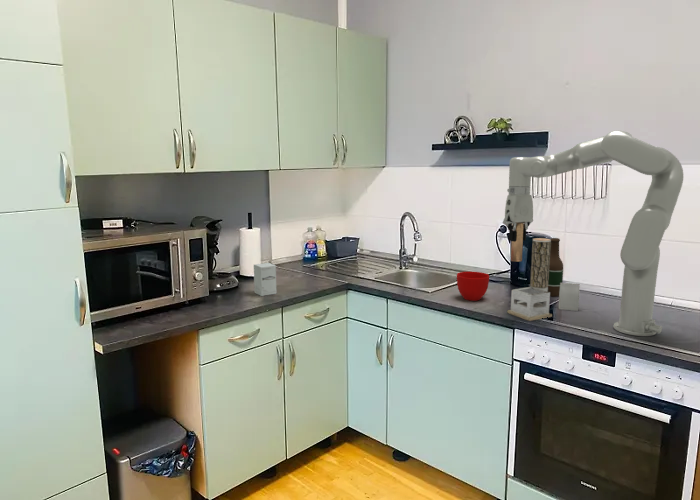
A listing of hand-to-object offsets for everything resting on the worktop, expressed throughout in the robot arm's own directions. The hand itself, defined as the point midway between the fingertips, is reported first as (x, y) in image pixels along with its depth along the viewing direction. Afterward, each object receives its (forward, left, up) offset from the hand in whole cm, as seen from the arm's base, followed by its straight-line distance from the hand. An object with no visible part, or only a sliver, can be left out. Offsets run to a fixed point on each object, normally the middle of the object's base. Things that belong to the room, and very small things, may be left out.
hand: (517, 240), depth 193 cm
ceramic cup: (+20, +2, -27) cm, 34 cm away
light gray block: (-9, -19, -27) cm, 34 cm away
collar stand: (-8, 0, -27) cm, 28 cm away
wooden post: (0, 0, -8) cm, 8 cm away
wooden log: (+5, -18, -27) cm, 33 cm away
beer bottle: (+9, -30, -27) cm, 41 cm away
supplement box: (+67, +77, -27) cm, 106 cm away
